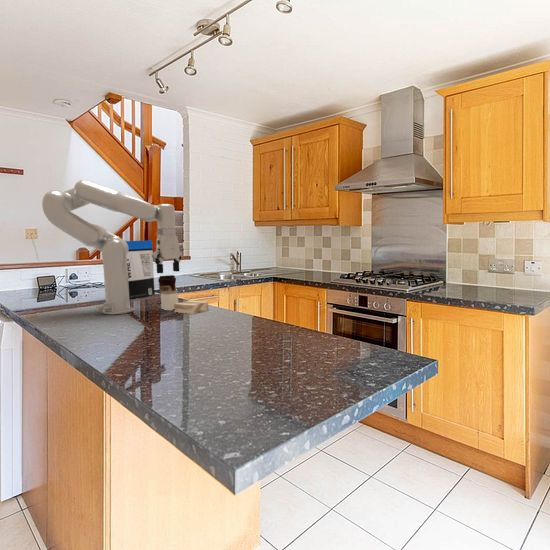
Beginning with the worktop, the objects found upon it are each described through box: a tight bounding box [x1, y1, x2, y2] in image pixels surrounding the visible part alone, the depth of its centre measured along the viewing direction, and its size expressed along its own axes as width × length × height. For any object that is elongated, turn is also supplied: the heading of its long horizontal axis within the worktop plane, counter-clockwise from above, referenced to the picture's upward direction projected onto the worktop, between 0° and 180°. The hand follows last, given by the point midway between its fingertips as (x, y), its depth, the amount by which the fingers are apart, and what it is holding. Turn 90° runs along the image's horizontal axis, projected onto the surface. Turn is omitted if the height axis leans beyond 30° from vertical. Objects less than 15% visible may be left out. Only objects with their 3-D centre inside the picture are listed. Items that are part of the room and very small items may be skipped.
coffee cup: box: [157, 274, 177, 297], centre depth 202 cm, size 9×8×13 cm
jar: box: [159, 290, 179, 311], centre depth 182 cm, size 5×5×8 cm
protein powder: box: [124, 239, 156, 300], centre depth 219 cm, size 10×24×30 cm, turn 148°
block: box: [174, 300, 209, 315], centre depth 176 cm, size 10×10×4 cm
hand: (168, 272), depth 181 cm, fingers open, 9 cm apart
